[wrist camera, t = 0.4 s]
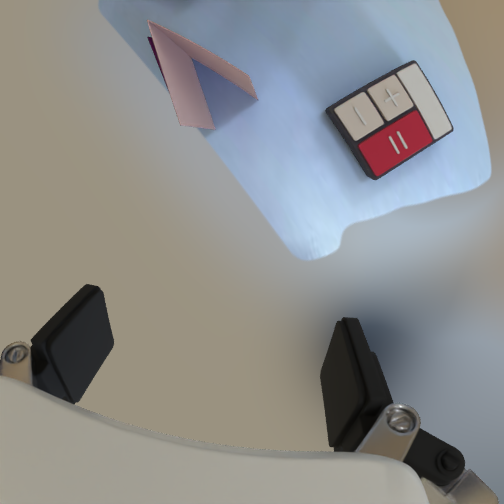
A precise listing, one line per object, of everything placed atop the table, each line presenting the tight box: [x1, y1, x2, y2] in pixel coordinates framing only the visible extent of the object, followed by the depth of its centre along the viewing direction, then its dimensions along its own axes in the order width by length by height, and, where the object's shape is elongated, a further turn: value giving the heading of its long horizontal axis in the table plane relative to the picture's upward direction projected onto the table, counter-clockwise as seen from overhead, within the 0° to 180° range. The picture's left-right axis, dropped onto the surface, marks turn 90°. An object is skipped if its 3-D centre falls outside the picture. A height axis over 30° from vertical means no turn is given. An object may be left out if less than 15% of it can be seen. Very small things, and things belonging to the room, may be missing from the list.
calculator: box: [326, 60, 453, 180], centre depth 31 cm, size 11×4×15 cm
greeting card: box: [147, 20, 258, 130], centre depth 26 cm, size 11×7×15 cm, turn 18°
